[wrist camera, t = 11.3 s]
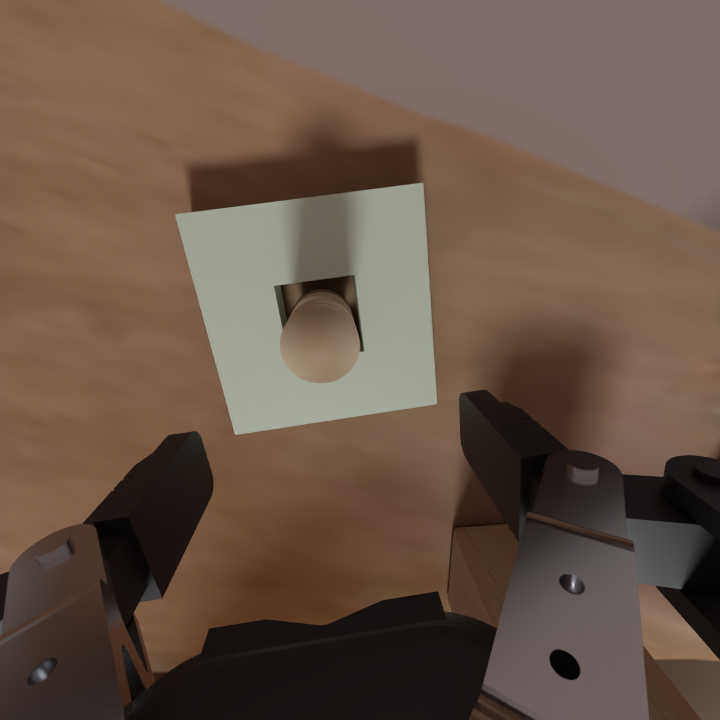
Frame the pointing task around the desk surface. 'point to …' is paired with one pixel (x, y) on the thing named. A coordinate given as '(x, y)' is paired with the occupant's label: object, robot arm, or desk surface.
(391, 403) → the seat board
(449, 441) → the desk surface
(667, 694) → the wooden block
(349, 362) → the peg
